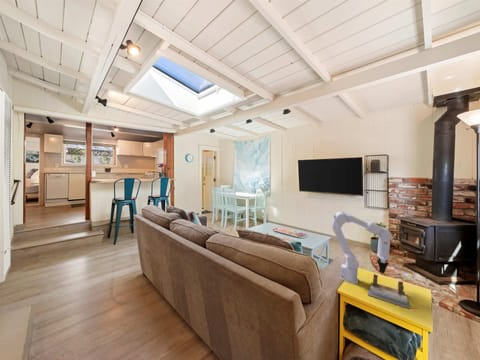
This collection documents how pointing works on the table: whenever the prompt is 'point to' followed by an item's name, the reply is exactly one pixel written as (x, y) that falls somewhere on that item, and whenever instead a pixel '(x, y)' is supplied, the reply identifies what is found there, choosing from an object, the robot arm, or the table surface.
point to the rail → (389, 295)
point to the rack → (399, 291)
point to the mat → (388, 299)
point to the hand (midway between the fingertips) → (382, 270)
